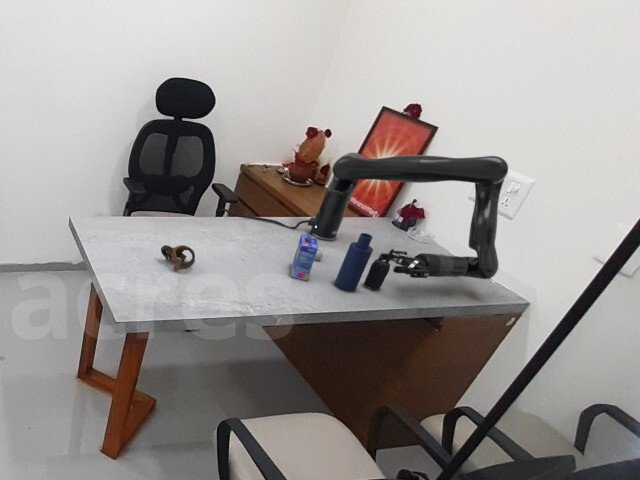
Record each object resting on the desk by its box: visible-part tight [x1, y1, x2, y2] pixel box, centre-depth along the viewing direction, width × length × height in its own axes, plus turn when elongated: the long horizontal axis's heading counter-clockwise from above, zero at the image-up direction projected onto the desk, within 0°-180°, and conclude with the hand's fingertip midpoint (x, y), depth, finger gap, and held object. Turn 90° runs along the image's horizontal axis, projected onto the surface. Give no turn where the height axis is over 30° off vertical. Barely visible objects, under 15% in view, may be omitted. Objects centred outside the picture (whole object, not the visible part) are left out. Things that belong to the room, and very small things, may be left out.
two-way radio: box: [363, 248, 395, 291], centre depth 170 cm, size 6×4×15 cm
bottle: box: [334, 232, 374, 293], centre depth 168 cm, size 7×7×19 cm
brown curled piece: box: [160, 244, 196, 272], centre depth 173 cm, size 12×10×8 cm
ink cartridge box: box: [290, 231, 319, 281], centre depth 174 cm, size 10×6×14 cm, turn 161°
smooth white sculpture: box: [314, 248, 324, 261], centre depth 189 cm, size 4×8×5 cm
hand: (387, 262), depth 169 cm, fingers open, 8 cm apart
